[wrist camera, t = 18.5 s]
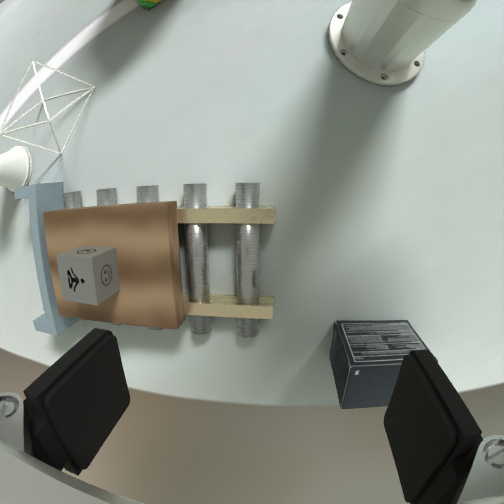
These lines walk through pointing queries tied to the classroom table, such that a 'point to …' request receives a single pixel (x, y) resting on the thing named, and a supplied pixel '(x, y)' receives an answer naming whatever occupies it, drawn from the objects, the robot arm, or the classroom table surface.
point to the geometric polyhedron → (46, 110)
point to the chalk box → (148, 3)
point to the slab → (124, 260)
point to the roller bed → (195, 220)
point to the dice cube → (88, 274)
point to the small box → (370, 359)
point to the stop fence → (44, 252)
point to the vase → (15, 168)
